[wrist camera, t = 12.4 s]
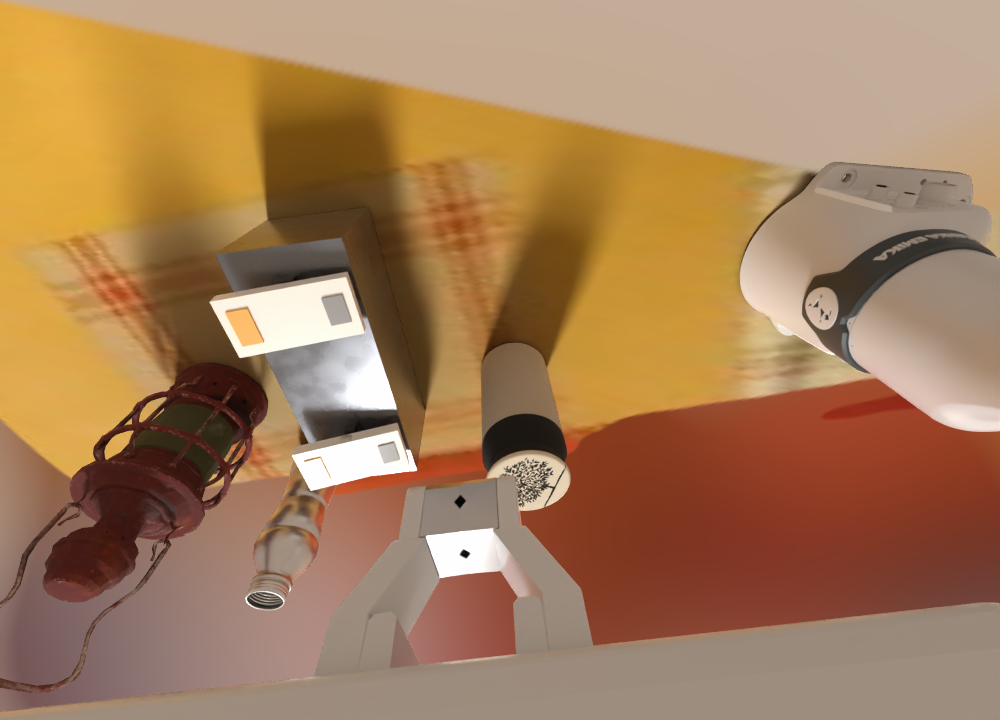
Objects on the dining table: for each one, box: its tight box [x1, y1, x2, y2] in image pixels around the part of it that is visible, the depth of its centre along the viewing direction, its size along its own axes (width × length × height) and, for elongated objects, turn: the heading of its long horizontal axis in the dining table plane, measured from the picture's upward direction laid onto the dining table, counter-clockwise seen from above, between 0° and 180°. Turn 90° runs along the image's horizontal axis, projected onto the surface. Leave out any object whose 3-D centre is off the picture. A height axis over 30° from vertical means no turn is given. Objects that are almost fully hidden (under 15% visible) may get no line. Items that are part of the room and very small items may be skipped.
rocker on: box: [210, 272, 366, 358], centre depth 34 cm, size 10×5×1 cm, turn 97°
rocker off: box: [292, 423, 409, 491], centre depth 42 cm, size 10×5×1 cm, turn 97°
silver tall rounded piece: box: [245, 460, 338, 610], centre depth 50 cm, size 6×7×20 cm
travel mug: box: [481, 343, 570, 511], centre depth 45 cm, size 8×8×18 cm
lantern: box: [0, 363, 267, 693], centre depth 40 cm, size 12×12×30 cm
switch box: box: [215, 207, 425, 475], centre depth 44 cm, size 10×26×11 cm, turn 7°
